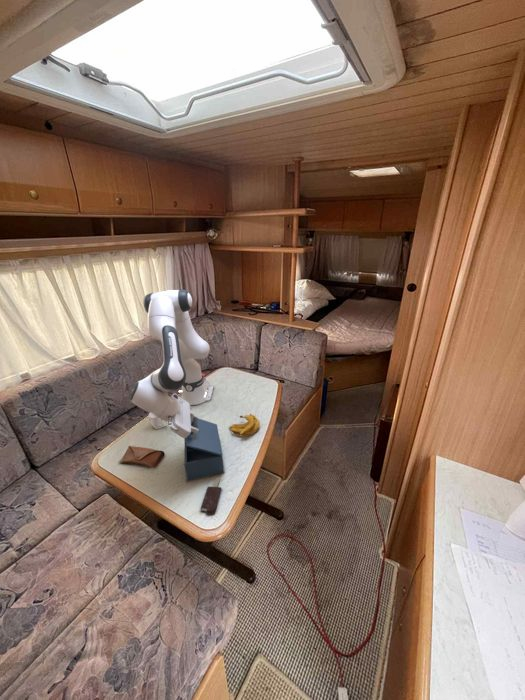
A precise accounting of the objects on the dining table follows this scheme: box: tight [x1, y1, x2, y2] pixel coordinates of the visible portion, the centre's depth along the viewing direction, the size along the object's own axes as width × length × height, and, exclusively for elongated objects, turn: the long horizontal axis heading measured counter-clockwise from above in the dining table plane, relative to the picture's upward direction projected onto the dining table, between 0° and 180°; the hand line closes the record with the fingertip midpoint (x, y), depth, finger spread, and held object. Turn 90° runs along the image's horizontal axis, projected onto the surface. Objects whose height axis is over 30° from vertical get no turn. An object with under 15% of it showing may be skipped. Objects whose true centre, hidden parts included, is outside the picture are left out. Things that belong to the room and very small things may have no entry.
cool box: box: [183, 438, 225, 482], centre depth 120 cm, size 15×20×9 cm
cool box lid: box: [186, 416, 223, 457], centre depth 116 cm, size 16×20×5 cm
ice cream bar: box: [200, 476, 222, 515], centre depth 104 cm, size 5×2×15 cm
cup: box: [147, 412, 168, 430], centre depth 141 cm, size 7×10×8 cm
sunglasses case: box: [119, 445, 165, 469], centre depth 122 cm, size 18×7×7 cm, turn 79°
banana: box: [229, 413, 261, 437], centre depth 139 cm, size 15×19×6 cm
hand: (197, 425), depth 114 cm, fingers closed on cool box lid, 6 cm apart
